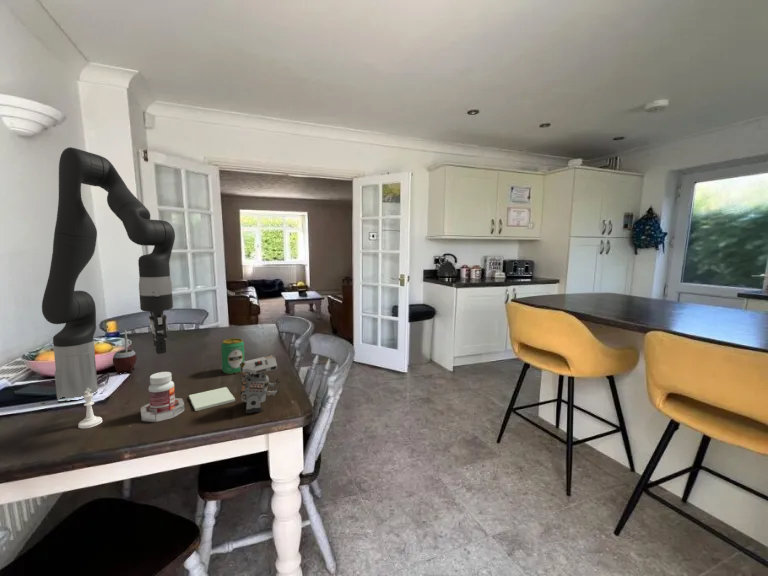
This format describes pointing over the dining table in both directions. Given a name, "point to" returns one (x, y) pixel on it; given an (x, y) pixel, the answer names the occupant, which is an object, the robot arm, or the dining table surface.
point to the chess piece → (89, 412)
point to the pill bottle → (161, 392)
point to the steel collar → (164, 415)
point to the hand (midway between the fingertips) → (159, 349)
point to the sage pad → (211, 398)
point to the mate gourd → (124, 359)
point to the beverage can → (232, 355)
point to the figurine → (257, 382)
